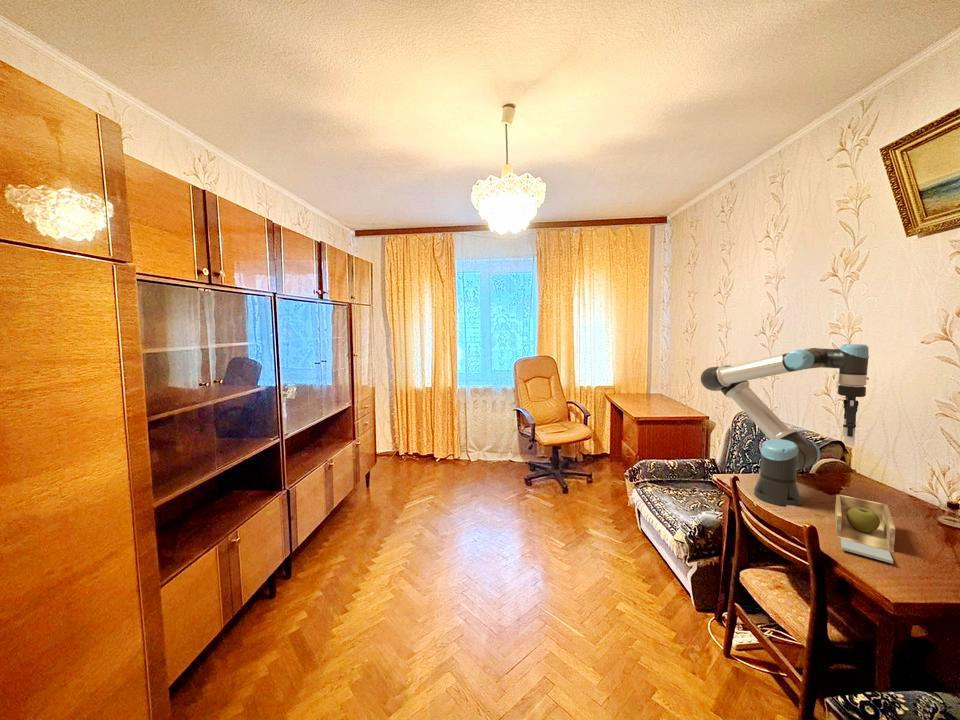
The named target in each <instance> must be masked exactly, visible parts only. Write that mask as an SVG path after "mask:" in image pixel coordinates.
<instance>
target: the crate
mask: <svg viewBox="0 0 960 720" xmlns="http://www.w3.org/2000/svg"><path fill="white" fill-rule="evenodd" d="M888 505H889V504H886V503H882V502H878V501H872V500H866V499H862V498H858V497H853V496H848V495H842V494H837V493H836V494H835V508H834V509H835V510H834V516H835V519H834V521H835V522H834V523H835V538H837V539H840V540H841V538H842V539H845V540H849V541H853V542H857V543H861V544H864V545H868V546H872V547H876V548H879V549H883V550H887V551H889V552H890V553H895V538H896V527H895V523H894V521H893V517H892V514H891V511H890V508H889V506H888ZM854 507H861V508H866V509H869V510H871V511H873V512H874V513H876V514H877V515H878V517H879V519H880V525H879V527H878V528H877V529H876V530H875V531H873V532H861V531H858V530H856V529H854V528H853V527H852V526H851V525H850V524H849V522H848V520H847V517H846V515H847V511H848V510H849V509H851V508H854Z"/></svg>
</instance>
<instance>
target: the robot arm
mask: <svg viewBox="0 0 960 720" xmlns="http://www.w3.org/2000/svg"><path fill="white" fill-rule="evenodd" d="M869 358H870V355H869V346H868V345H867V344H859V343H853V344H852V343H851V344H850V343H845V344H844V343H843V344H841V345H840V348H819V347H810V348H809V347H807V348H803V349H795V350H792V351H790V352H786V353H781V354H778V355H773V356H769V357H764V358H760V359H757V360H752V361H748V362H743V363H738V364H735V365H720V366H711V367H710V366H709V367H707V368H706V369H705V370H703V371H702V372H701V375H700V382H701V384H702V386H703V387H704V388H705V389H707V390H708V391H711V392H712V391H713V392H719V391H720V392H721V393H722V394H723V395H724V396H725V398H730V399H732V400H733V401H734V402H735V403H736V404H737V405H738V406H739V407H740V408H741V410H742V411H743V412H744V413H745V414H746V416H747V417H749V419H751V421H752V422H753V423H754V424H755V425H756V426H757V427H758V428H759V430H760V431H762V434H764V435H765V437H766V438H768V439H767V440H765V441H763V442H762V443H761V448H760V469H759V478H758V479H757V482H756V484H755V486H754V488H753V495H754V496H755V498H758V499H759V500H761V501H764V502H766V503H769V504H773V505H777V506H783V507H787V506H794V507H798V506H799V505H801V502H802V499H801V498H802V496H801V494H800V491H799V488H798V485H797V472H798V471H800V470H803V469H809V468H811V467H812V466H814V465H817V463H819V461H820V459H821V451H820V448H819V446H818V445H817V444H816V443H815V442H814V441H813V440H812V439H809V438H805V437H803V436H802V435H801V434H800V433H799V432H798V431H797V430H791V429H790V428H789V427H788V426H787V425H786V424H785V423H784V422H783V421H782V420H781V419H780V418H779V417H778V416H777V415H776V414H775V413H774V412H773V410H772V409H770V407H769V406H768V405H766V403H764V401H762V399H761V398H760V397H759V396H758V395H757V394H756V393H755V392H754V391H753V390H752V389H751V388H750V382H749V381H750V380H756V379H760V378H761V379H762V378H767V377H772V376H777V375H782V374H788V373H791V372H792V373H793V372H799V371H803V370H809V369H810V370H811V369H819V368H825V369H826V368H827V369H838V371H839V373H838V381H837V383H838V384H839V385H837V386H838V387H837V394H838V395H839V396H843V397H844V398H845V399H843V409H844V414H843V425H842V427H843V428H842V437H843V445H846V446H852V447H853V446H855V437H856V427H857V423H856V422H857V413H858V409H859V401H858V400H856V398H864V397H866V393H867V387H866V386H867V381H869V380H870V378H869V376H867V375H868V366H869Z"/></svg>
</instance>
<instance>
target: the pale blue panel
mask: <svg viewBox="0 0 960 720" xmlns="http://www.w3.org/2000/svg"><path fill="white" fill-rule="evenodd" d="M840 544H841V547H840V548H841V550H843V551H846V552H848V553H849V552H850V553H853V554H857V555H860V556H864V557H867V558H871V559H875V560H878V561H883V562H885V563H889V564H892V565H893V564H894V559H893V557H892V554H891V552H890V551H887V550H883V549H879V548H876V547H872V546H868V545H864V544H861V543H857V542H853V541H849V540H845V539H842V538H841V539H840Z"/></svg>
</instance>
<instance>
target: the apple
mask: <svg viewBox="0 0 960 720" xmlns="http://www.w3.org/2000/svg"><path fill="white" fill-rule="evenodd" d="M846 517H847V520H848V522H849V524H850V525H851V526H852V527H853V528H854V529H856V530H858V531H861V532H873V531H875V530H876V529H877V528H878V527H879V525H880V519H879V517H878V515H877V514H876V513H874V512H873V511H871V510H869V509H866V508H861V507H854V508H851V509H849V510H848V511H847V515H846Z"/></svg>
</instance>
